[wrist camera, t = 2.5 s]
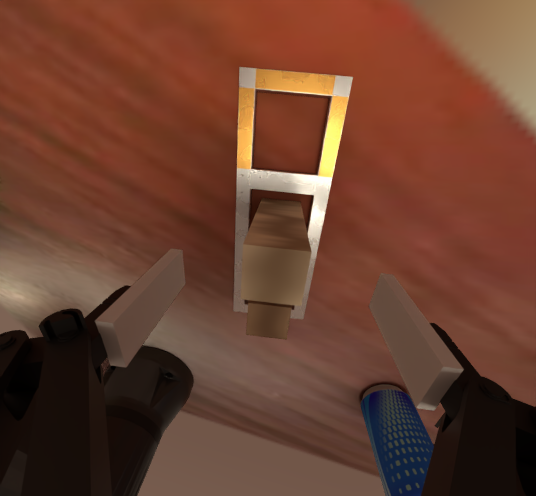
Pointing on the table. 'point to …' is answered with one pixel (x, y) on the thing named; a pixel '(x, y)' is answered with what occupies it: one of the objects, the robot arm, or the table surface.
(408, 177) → the table surface
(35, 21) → the table surface
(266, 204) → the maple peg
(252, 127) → the white yellow rectangular frame
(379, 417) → the beer can
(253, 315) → the walnut peg
